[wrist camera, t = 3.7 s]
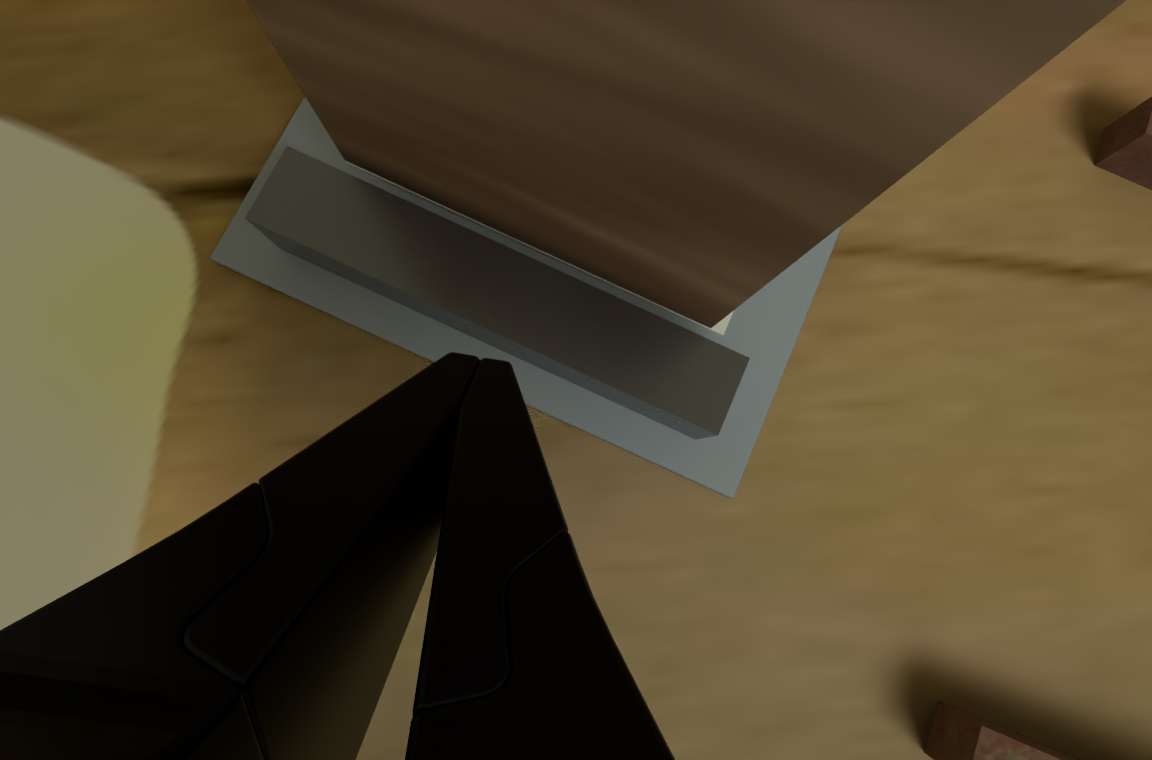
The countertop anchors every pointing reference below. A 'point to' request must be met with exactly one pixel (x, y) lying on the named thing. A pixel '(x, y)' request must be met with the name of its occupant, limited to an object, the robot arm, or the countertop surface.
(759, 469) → the countertop surface
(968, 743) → the miniature gate
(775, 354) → the card
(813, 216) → the fence panel
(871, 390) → the countertop surface
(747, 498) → the countertop surface
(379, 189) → the base
